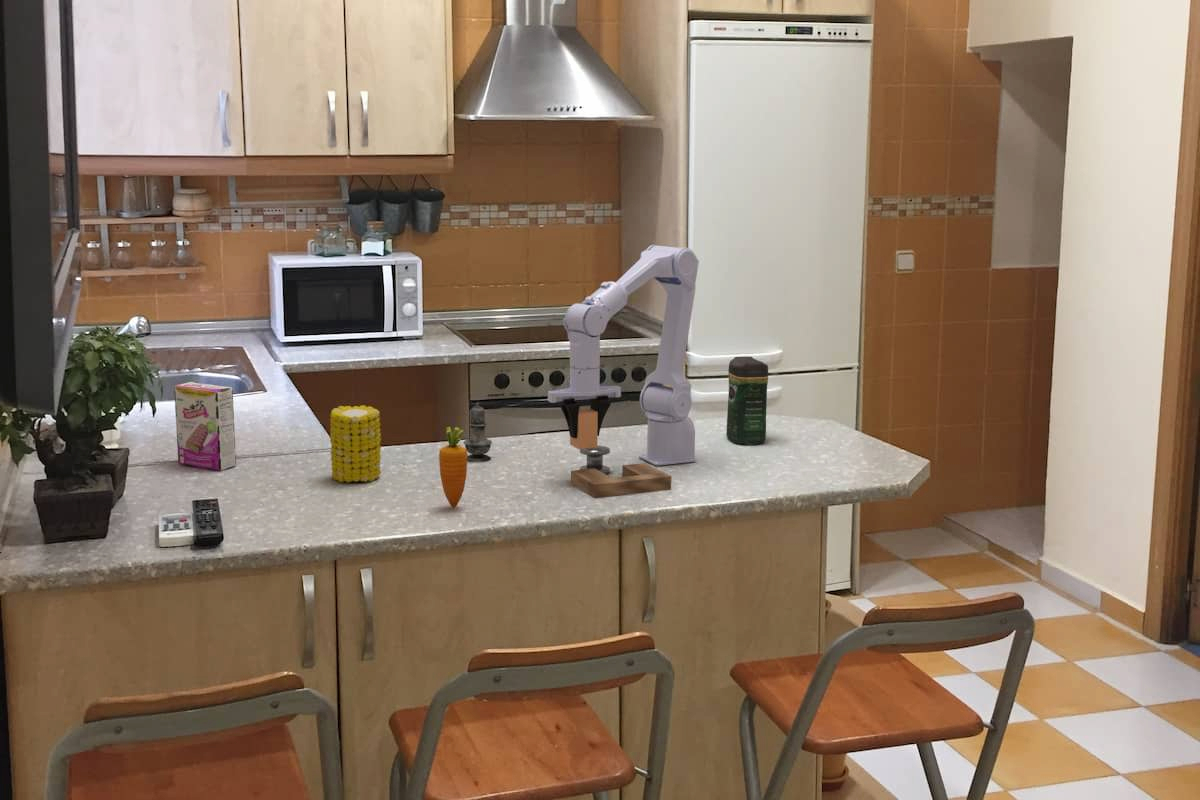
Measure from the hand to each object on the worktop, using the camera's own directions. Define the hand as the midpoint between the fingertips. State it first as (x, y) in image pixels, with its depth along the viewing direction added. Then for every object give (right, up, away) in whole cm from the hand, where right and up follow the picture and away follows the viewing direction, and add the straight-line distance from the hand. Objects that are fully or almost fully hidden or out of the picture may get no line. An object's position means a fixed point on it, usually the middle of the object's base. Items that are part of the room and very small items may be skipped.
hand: (584, 435), depth 254 cm
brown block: (0, -2, +1) cm, 2 cm away
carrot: (-23, -13, -18) cm, 32 cm away
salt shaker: (-22, -5, +17) cm, 29 cm away
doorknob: (+2, -7, +8) cm, 11 cm away
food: (-44, -9, +1) cm, 45 cm away
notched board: (+7, -10, -2) cm, 12 cm away
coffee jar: (+35, -2, +36) cm, 50 cm away
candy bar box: (-76, -7, +9) cm, 77 cm away
